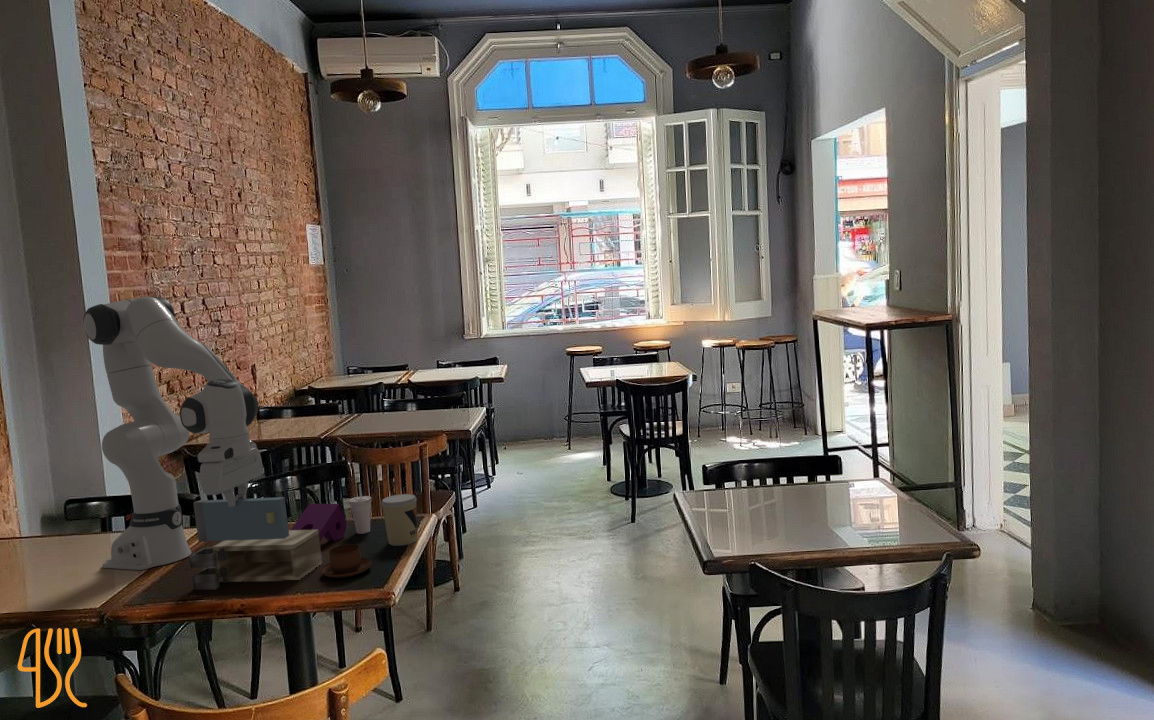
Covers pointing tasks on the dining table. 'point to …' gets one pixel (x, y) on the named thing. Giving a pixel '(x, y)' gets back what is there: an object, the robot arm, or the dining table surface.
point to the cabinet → (257, 560)
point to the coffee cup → (400, 519)
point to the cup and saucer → (345, 562)
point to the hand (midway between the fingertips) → (237, 503)
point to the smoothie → (361, 512)
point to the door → (241, 519)
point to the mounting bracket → (323, 521)
